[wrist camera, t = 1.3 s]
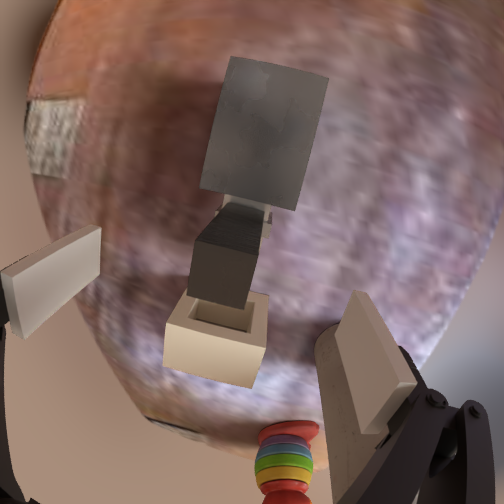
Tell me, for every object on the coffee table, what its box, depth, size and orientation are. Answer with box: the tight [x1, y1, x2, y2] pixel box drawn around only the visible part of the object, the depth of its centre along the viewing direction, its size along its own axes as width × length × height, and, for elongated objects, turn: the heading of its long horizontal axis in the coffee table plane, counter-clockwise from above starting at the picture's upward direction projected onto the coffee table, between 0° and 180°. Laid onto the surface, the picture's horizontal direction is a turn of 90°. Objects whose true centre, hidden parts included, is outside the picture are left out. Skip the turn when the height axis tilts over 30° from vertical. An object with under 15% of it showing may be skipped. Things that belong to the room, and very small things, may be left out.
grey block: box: [199, 56, 329, 211], centre depth 23 cm, size 10×7×10 cm
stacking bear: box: [255, 421, 319, 504], centre depth 35 cm, size 11×10×18 cm
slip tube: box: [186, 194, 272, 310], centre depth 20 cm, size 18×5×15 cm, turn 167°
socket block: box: [163, 286, 269, 389], centre depth 30 cm, size 6×9×10 cm, turn 77°
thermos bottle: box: [314, 323, 419, 504], centre depth 22 cm, size 8×8×28 cm
